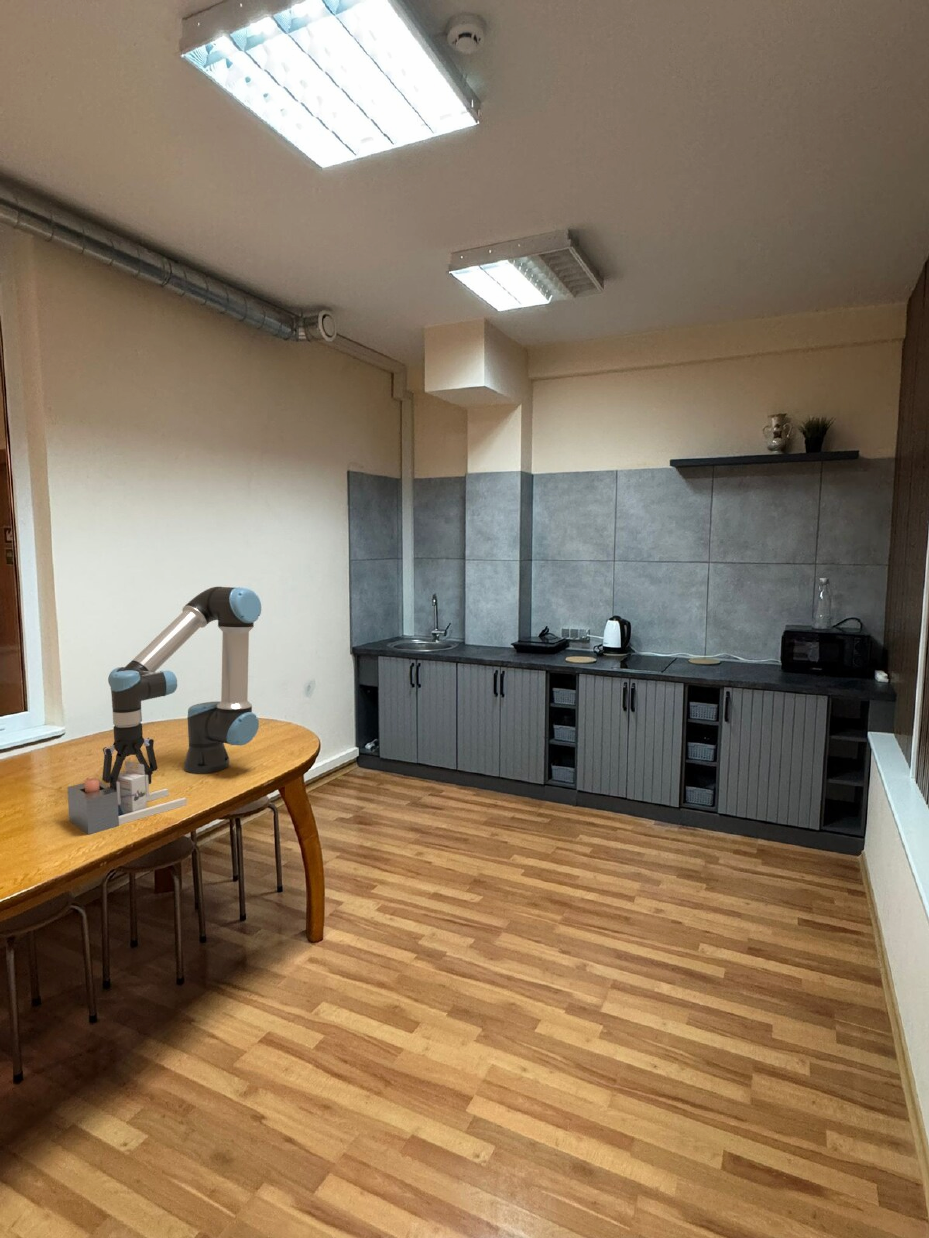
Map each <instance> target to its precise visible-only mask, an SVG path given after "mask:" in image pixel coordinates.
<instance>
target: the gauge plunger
mask: <svg viewBox="0 0 929 1238" xmlns="http://www.w3.org/2000/svg"><path fill="white" fill-rule="evenodd" d="M99 781H100V779H99V778H89V779H86V780H84V783H85V793H86V794H88V793H92V792H96V791H100V789H99Z"/></svg>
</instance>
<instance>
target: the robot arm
mask: <svg viewBox="0 0 929 1238" xmlns="http://www.w3.org/2000/svg"><path fill="white" fill-rule="evenodd" d="M261 614H262V603H261V599H260V598H259V595H257V593H256V592H255V591H253V590H252V589H249V588H243V587H240V586H239V587H231V586H230V587H228V586H213V587H210V588H208V589H205V590H204V591H202V592H200V593H198V594H197V595H196V596H195V597H193V598H192V599H190V600H189V601H188V603H186V604H185V605H184V606H183V607H182V612H181V613H180V614H179V615H177V617H176V618H174V620H173V621H172V622H171V623H170V624H169V625H168V626H167V627H165V629H163V630H162V631H161V632H160V633H159V634H158V635H157V636H156V637H155V638H154V639H153V640H152V641H150V642H149V644H147V646H146V647H144V649H142V650H141V651H140V652H139V653H138V654H137V655H136V656H135V657H134V658H133V659H132V660H131V661H130V662H129V663H128V664H126V666H122V667H116V668H114V669H112V670H111V671H110V672H109V674H108V679H107V681H108V684H109V686H110V694H111V704H112V705H111V707H112V724H113V725H114V726H113V727H112V728H113V739H114V741H113V743H112V745H110V746H108V747H106V746H105V747H103V748H102V752H103V755H104V756H103V758H104V759H103V768H102V769H103V770H102V779H101V780H102V781H103V783H107V784H109V787H110V788H112V789H114V790H116V791H117V794H118V805H119V804H121V799H120V782H118V781H117V779H118V776H119V773H121V769H122V766H123V764H124V762H125V761H126V758H127V757H129V756H135V757H136V759H137V761H138V764H143V765H144V774H145V790H146V797H147V796H149V793H150V787H149V786H150V785H151V784H152V775H153V773H154V771H158V764H157V759H156V754H155V749H154V744H155V740H154V739H153V738H150V737H147V738H144V736H143V735H144V734H143V723H142V722H143V715H142V702H144V701H147V700H153V699H157V698H161V697H165V696H168V695H170V694H174V693H175V692H176V691H177V688H178V678H177V677H176V674H175V673H174V672H173V671H171V670H160V671H157V670H159V669H160V668H161V667H162V666H163V664H164V663H165V662H167V660H169V658H171V657H172V656H173V655H174V653H176V652H177V651H178V650H179V649H180V648H181V647H182V646H183V645H184V644H185V643H186V642H187V641H188V640H189V639H190V638H191V637H192V636H193V635H194V634H195V633H196V632H197V631H198V630H199V629H200V628H201V629H202V628H205V627H206V626H207V625H208V624H210V623H211V622H213V621H217V627H218V629H220V630H221V632H222V637H221V638H222V639H221V641H222V643H221V644H222V646H221V647H222V648H221V692H220V693H221V695H220V696H221V697H220V699H221V700H220V701H217V700H216V701H206V702H202V703H200V702H199V703H196V704H193V705H191V706H189V707H188V709H187V732H188V733H187V734H188V736H187V738H188V750H187V753H186V756H185V759H184V762H183V768H184V769H183V770H184V771H186V772H187V773H190V774H191V773H192V774H209V773H215V772H219V771H222V770H225V769H226V768H228V767H230V757H229V755H228V752H227V749H226V747H225V744H228V745H230V746H240V747H241V746H245V745H247V744H249V743H250V742H251V741H253V739H254V738H255V737H256V736H257V733H258V730H259V727H260V726H259V725H260V722H259V718H258V717H257V715H256V713H253V705H252V703H251V702H250V701H249V699H248V695H249V694H248V689H249V687H248V686H249V685H248V684H249V646H250V644H249V643H250V642H249V640H250V639H249V638H250V631H251V630H253V628H254V626H255V625H254V623H255V622H256V621H258V620H259V617H260V616H261ZM143 745H144V747H145V750H146V756H147V759H148V762H147V760H146V757H145V756H144V754H143V752H142V750H141V748H142V747H143ZM114 751H116V755H115V760H114V764H113V765H112V763H113V754H114Z"/></svg>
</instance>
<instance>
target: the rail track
mask: <svg viewBox="0 0 929 1238" xmlns="http://www.w3.org/2000/svg"><path fill="white" fill-rule="evenodd" d="M169 796H170V790H169V788H163V789H159V790H155V791H152V792H149V796H147V797H146V803H148V802H150V801H151V802H152V801H154V800H158V799H162V798H165V797H169ZM187 805H188V804H187V798H185V797H182V798H181V797H180V798H177V799H174V800H171V801H167V802H164V803H159V804H157V805H153V806H150V807H146V808H145V809H142V810H139V811H135V812H132V813H128V814H125V815H119V826H121V825H125V824H127V823H130V822H134V821H136V820H137V821H138V820H140V819H144V818H147V817H151V816H153V815H159V814H161V813H164V812H167V811H171V810H174V809H178V808H182V807H185V806H187Z"/></svg>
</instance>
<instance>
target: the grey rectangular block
mask: <svg viewBox="0 0 929 1238" xmlns="http://www.w3.org/2000/svg"><path fill="white" fill-rule="evenodd" d="M99 789H100V791H96V792H92V793H88V794H86V793H85V782H83V783H78V784H74V785H70V786H67V801H68V803H67V804H68V805H67V806H68V816H69V817H68V818H69V820H68V821H69V822H71V823H72V824H73V825H74V826H76V827H77V828H78V829H80V830H81V831H82V832H84V833H86V834H87V835H88V836H89V835H93V834H97V833H99V832H103V831H105V830H106V831H107V830H109V829H112V828H116V827H119V826H120V825H119V816H120V814H118V794H117V791H116V790H114V789H112V788H110V785H107V784H105V782H102V781H100V780H99Z"/></svg>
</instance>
